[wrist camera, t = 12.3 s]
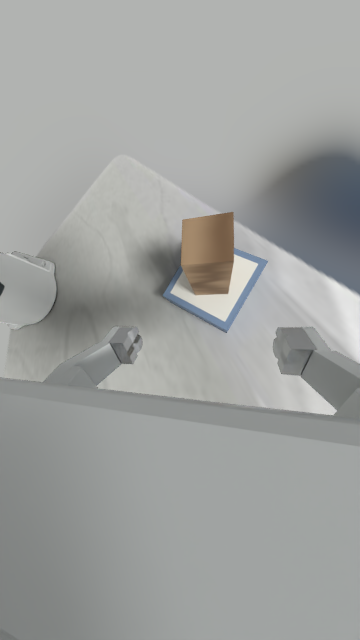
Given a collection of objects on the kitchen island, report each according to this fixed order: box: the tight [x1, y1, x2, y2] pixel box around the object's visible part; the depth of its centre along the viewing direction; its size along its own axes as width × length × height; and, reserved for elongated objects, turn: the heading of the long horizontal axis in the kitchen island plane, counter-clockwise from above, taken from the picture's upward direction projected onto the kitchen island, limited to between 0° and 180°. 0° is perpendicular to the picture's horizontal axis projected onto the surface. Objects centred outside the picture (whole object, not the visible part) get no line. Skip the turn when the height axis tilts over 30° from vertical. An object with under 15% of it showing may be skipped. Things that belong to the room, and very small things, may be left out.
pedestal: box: [163, 248, 268, 333], centre depth 27 cm, size 12×12×4 cm
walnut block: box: [181, 212, 234, 295], centre depth 20 cm, size 5×5×10 cm
